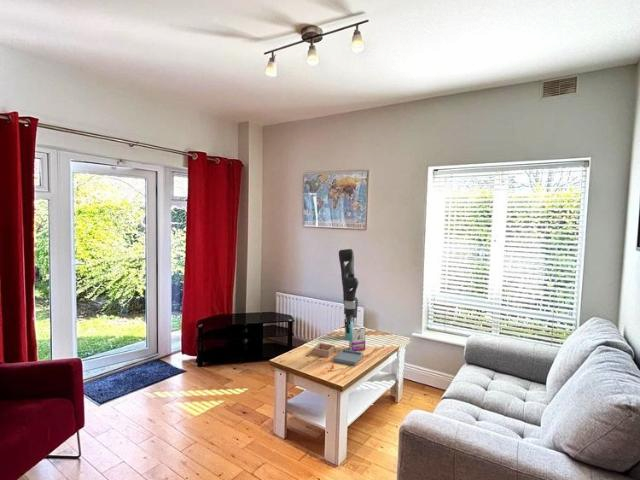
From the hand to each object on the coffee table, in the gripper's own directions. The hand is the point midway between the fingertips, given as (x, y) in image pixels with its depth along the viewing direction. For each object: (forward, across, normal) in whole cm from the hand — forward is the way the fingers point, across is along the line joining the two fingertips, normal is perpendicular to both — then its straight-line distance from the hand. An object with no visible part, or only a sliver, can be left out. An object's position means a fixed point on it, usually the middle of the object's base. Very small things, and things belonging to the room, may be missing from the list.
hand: (349, 331), depth 231 cm
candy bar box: (+19, -19, 0) cm, 27 cm away
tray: (+19, 0, 0) cm, 19 cm away
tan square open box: (+19, -2, -19) cm, 27 cm away
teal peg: (+5, 0, 0) cm, 5 cm away
